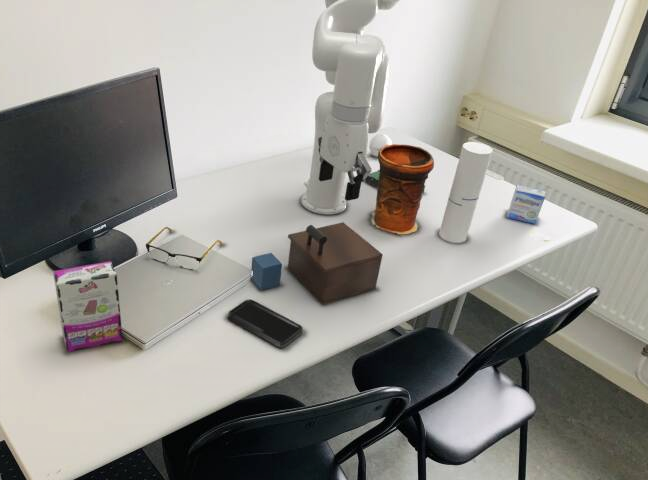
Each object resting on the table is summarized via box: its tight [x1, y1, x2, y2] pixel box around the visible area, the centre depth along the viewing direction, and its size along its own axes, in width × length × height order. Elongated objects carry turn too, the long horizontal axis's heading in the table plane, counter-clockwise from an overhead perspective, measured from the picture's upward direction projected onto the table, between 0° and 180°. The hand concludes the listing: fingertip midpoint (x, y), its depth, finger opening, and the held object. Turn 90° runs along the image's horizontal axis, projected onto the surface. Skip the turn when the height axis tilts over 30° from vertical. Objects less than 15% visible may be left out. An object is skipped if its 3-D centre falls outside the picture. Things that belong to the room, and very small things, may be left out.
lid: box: [287, 221, 383, 272], centre depth 147 cm, size 16×16×6 cm
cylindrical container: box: [438, 141, 494, 244], centre depth 167 cm, size 7×7×25 cm
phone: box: [227, 299, 303, 349], centre depth 138 cm, size 8×1×15 cm
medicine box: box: [506, 184, 547, 225], centre depth 183 cm, size 8×4×9 cm, turn 68°
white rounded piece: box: [368, 133, 393, 158], centre depth 211 cm, size 10×7×7 cm
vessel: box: [370, 143, 435, 236], centre depth 172 cm, size 14×14×20 cm
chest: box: [287, 240, 383, 305], centre depth 152 cm, size 15×16×9 cm
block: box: [250, 252, 283, 291], centre depth 150 cm, size 5×5×6 cm
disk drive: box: [364, 169, 426, 194], centre depth 195 cm, size 10×3×15 cm
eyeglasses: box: [145, 226, 224, 263], centre depth 158 cm, size 14×14×4 cm
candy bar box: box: [52, 261, 123, 353], centre depth 126 cm, size 11×5×16 cm, turn 114°
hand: (338, 189), depth 139 cm, fingers open, 9 cm apart
